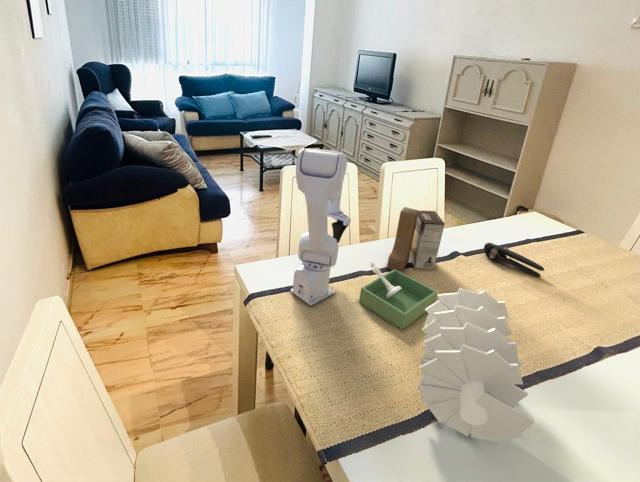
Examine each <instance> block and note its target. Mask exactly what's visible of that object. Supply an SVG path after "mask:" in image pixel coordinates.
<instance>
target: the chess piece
mask: <svg viewBox="0 0 640 482" xmlns="http://www.w3.org/2000/svg"><path fill="white" fill-rule="evenodd" d="M369 264H370V265H369V267H370V268H373V269H372V272H373V273H374V274H375V275H376V276H377V279H379V278H381V280H382V281H383V283H384V285H385V286H386V288H387V291H388V293H387V294H386V297H387V299H388V298H389V297H391V296H392V295H393V294H395V293H396V292H398V291H399V290H400V289H402V288H401V287H400V286H397V287H394V286H392V285H391V284H390V283H389V282H388V281H387V280H386V279H385V277H384V276H383V275H385V273H384V272H383V273H382V272H381V269H380V267H379V266H375V265H376V262H372V261H371V262H370V263H369Z"/></svg>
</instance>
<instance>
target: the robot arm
mask: <svg viewBox="0 0 640 482" xmlns="http://www.w3.org/2000/svg"><path fill="white" fill-rule="evenodd" d="M347 167H348V158H346V155H345V153H344V152H340V151H337V149H332V148H331V149H321V148H308V147H307V148H306V147H302V148H301V149H299V151H298V154H297V158H296V162H295V178H296V184H297V189H298V190H299V191H300V192H301V193H303V194H304V198H305V205H306V206H305V207H306V214H307V215H306V216H307V218H306V219H307V228H308V229H307V232H305V233H302V235H301V237H300V239H299V244H298V251H297V257H298V260H299V261H300V262H301V266H300V267H299V268H297V269H296V270H295V271H294V273H293V283H292V288H291V289H290V292H291V293H292V294H294V295H295V296H296V297H298V298H299V299H300V300H302V301H303V302H304V303H306V304H307V305H309V306H313V305H315V304H317V303H318V302H320V301H322V300H324V299H326V298H328V297H330V296H331V295H333V294H335V290H334V289H332V288H331V287H329V283H330V276H331V275H330V274H331V268H333V267H335V266H336V264H337V259H338V255H339V243H340V241H341V239H342V236H343V234H344V232H345V230H346V229H347V228H348V227H349V226H350V225H351V220H352V217H350V216H348V215H347V214H346V213H345V212H343V211H342V210H341V201H342V193H343V183H344V182H345V175H346V172H347ZM328 218H331V219H334V220H336V221H334V222H332V223H331V228H332V236H331V234H329V233H328Z"/></svg>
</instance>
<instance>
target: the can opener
mask: <svg viewBox="0 0 640 482" xmlns="http://www.w3.org/2000/svg"><path fill="white" fill-rule="evenodd" d="M483 253H484V255H485V256H486V258H487V259H488V260H490V261H492V262H499V263H500V262H501V263H505V264H508V265H510V266H513V267H514V268H516V269H518V270H519V271H521V272H523V273H524V274H528V275H530V276H532V277H535V278H541V277H542V276H541V273H539V272H538V271H541V272H544V271H545V267H543V266H542V265H541V264H539V263H536V261H533V260H531V259H529V258H527V257H525V256H524V255H521V254H520V253H517V252H515V251H512V250H509V247H503V246H500V245H498V244H495V243H493V242H486V243H485V244H484V245H483ZM526 265H527V266H526ZM528 266H529V267H528ZM530 267H531V268H530ZM532 268H533V269H532ZM534 269H535V270H534ZM536 270H538V271H536Z"/></svg>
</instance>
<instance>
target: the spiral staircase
mask: <svg viewBox="0 0 640 482" xmlns="http://www.w3.org/2000/svg"><path fill="white" fill-rule="evenodd" d="M437 298H438V300H437V301H435V303H434V304H432V305H430V306H429V307H427V308H426V309H425V311H426V312H425V313H427V314H428V315H427V317H426V319H425V323H424V325H423V327H422V328H421V331H422V332H423V333H425V336H424V340H423V342H422V343H423V344H422V350H423V353H422V355H421V357H420V359H419V361H418V363H419V364H421V365H419V370H420V371H421V378H420V380H419V382H418V385H417V387H416V389H417V390H418V391H420V403H421V404H424V405H426V407H427V408H428V410H429V411H430V412H431V413H432V415H433V416H434V417H435V419H436V420H437V421H438V422H439V423H440V424H443V423H445V425H447V426H448V427H449V428H452V429H453V430H455V431H456V432H458V433H460V434H462V435H464V437H469V436H470V437H471V438H474V439H478V440H484V441H489V442H493V443H499V442H500V441H507V440H512V439H519V438H523V435H522V434H523V433H524V432H525V431H526V430H527V429H529V428H530V427H531V426H532V425H533V424H535V423H536V422H535V419H534V418H532V417H530V416H529V415H526V414H525V413H523V412H521V411H519V410H517V409H516V408H515V405H517V404H518V403H520V402H521V401H523V400H524V399H525V398H526V397H528V396H529V393H528V392H527V391H525V390H524V389H522V388H520V387H518V386H517V385H524V383H523V379H522V378H523V377H522V375H521V371H520V367H521V366H522V365H523V362H522V360H519V355H518V347H517V346H518V341H517V342H516V341H514V340H512V339H510V338H508V337H506V336H512V335H513V333H512V331H511V328H510V326H509V323H508V320H507V319H510V317H509V313H508V309H507V306H506V302H505V300H502V301H501V300H500V301H499V300H496V299H495V298H494V297H493V296H492V295H491V294H490V293H488V292H487V291H486V290H485V289H483V290H482V291H480V292H476V291H472V290H471V289H466V288H462V287H459V288H458V290H457V292H447V293H437Z"/></svg>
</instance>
